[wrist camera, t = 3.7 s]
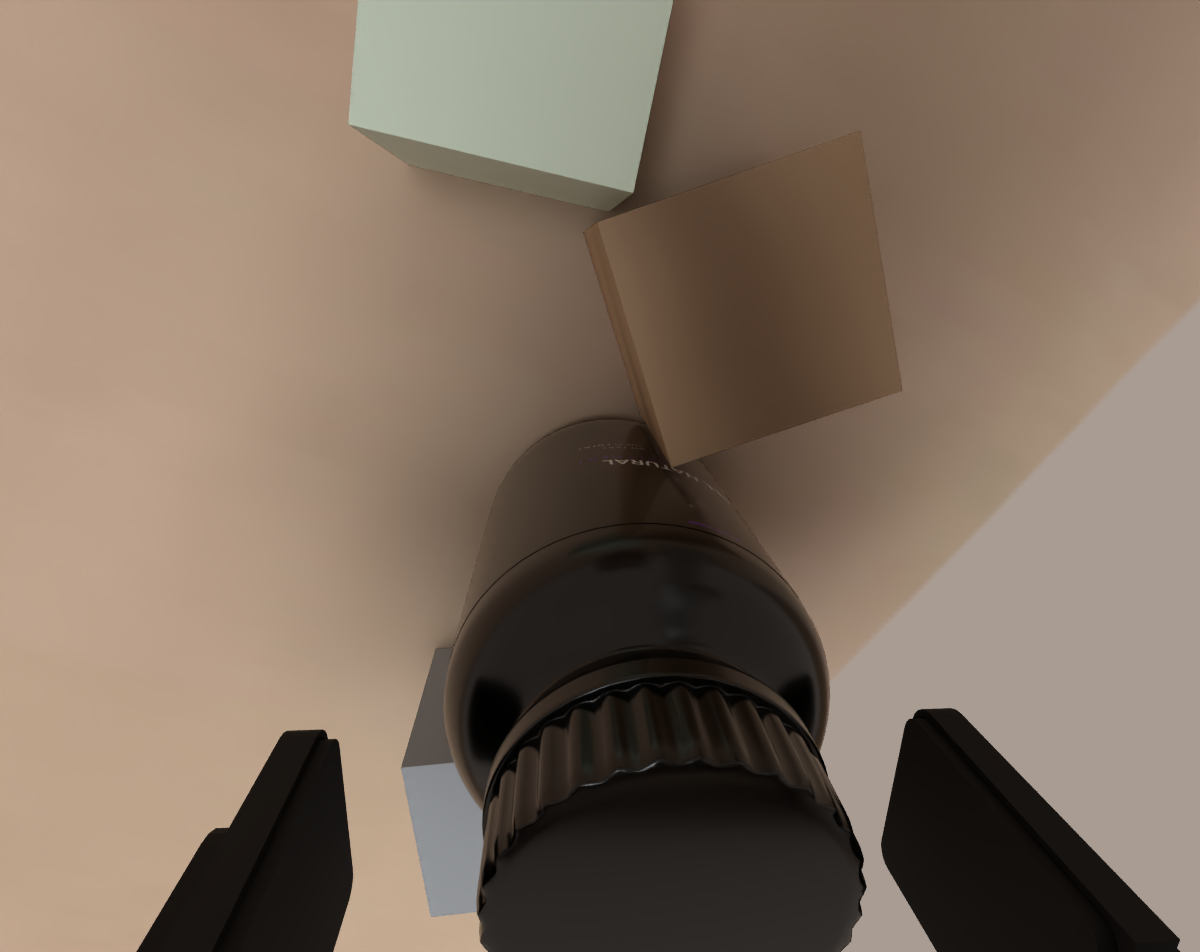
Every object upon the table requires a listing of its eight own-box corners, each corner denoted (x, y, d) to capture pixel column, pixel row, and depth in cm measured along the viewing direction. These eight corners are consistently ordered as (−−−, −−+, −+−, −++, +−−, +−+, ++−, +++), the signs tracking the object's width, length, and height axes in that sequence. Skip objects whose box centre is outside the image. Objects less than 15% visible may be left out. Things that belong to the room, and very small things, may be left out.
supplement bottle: (691, 383, 18) (942, 605, 6) (736, 590, 20) (980, 1024, 9) (454, 449, 18) (291, 784, 6) (526, 648, 20) (497, 1153, 9)
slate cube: (594, 633, 20) (608, 747, 15) (603, 758, 22) (618, 895, 17) (436, 647, 20) (401, 767, 15) (456, 773, 22) (430, 916, 17)
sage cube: (653, -16, 15) (703, -146, 10) (608, 212, 16) (633, 192, 11) (434, -79, 14) (377, -251, 9) (408, 165, 16) (348, 124, 11)
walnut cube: (768, 167, 16) (859, 130, 11) (808, 355, 18) (902, 390, 13) (583, 232, 16) (597, 222, 12) (639, 412, 18) (671, 467, 13)
